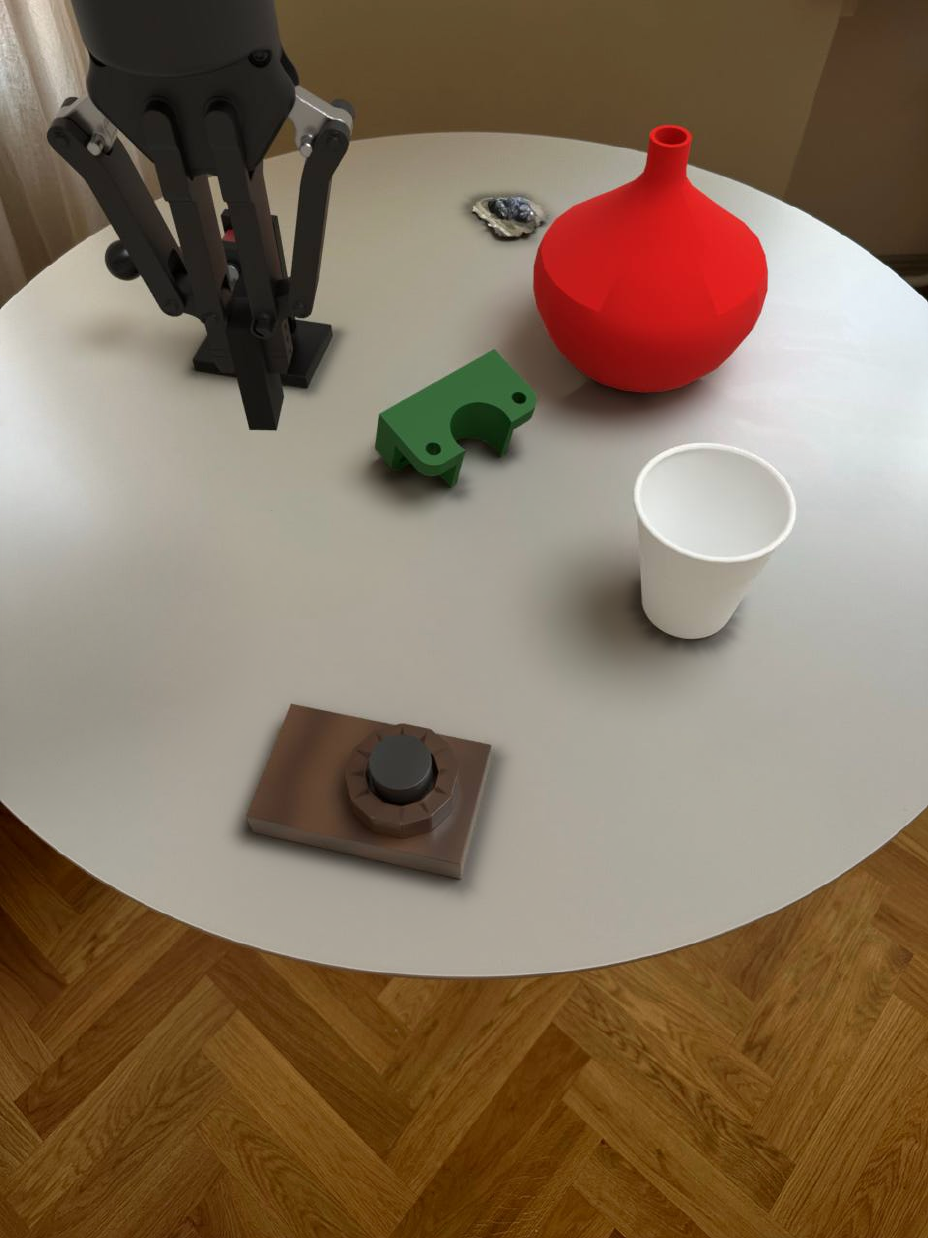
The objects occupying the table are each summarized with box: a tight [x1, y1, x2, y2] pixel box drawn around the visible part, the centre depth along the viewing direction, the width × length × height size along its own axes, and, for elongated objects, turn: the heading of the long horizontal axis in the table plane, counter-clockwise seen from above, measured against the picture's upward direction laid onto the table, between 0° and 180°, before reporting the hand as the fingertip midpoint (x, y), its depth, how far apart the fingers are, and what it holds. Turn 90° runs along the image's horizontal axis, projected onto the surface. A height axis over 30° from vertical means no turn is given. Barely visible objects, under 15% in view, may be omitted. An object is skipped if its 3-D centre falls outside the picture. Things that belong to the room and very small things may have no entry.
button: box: [369, 734, 433, 803], centre depth 60 cm, size 4×4×2 cm
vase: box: [532, 124, 769, 394], centre depth 81 cm, size 18×18×19 cm
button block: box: [246, 703, 492, 880], centre depth 62 cm, size 13×8×4 cm, turn 76°
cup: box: [632, 442, 797, 640], centre depth 68 cm, size 10×10×11 cm
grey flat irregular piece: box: [472, 196, 551, 238], centre depth 99 cm, size 7×8×2 cm
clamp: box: [374, 348, 538, 488], centre depth 79 cm, size 12×6×9 cm, turn 124°
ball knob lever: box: [104, 230, 235, 282], centre depth 83 cm, size 14×3×3 cm, turn 76°
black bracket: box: [192, 208, 334, 389], centre depth 84 cm, size 10×7×12 cm
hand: (267, 412), depth 57 cm, fingers closed
